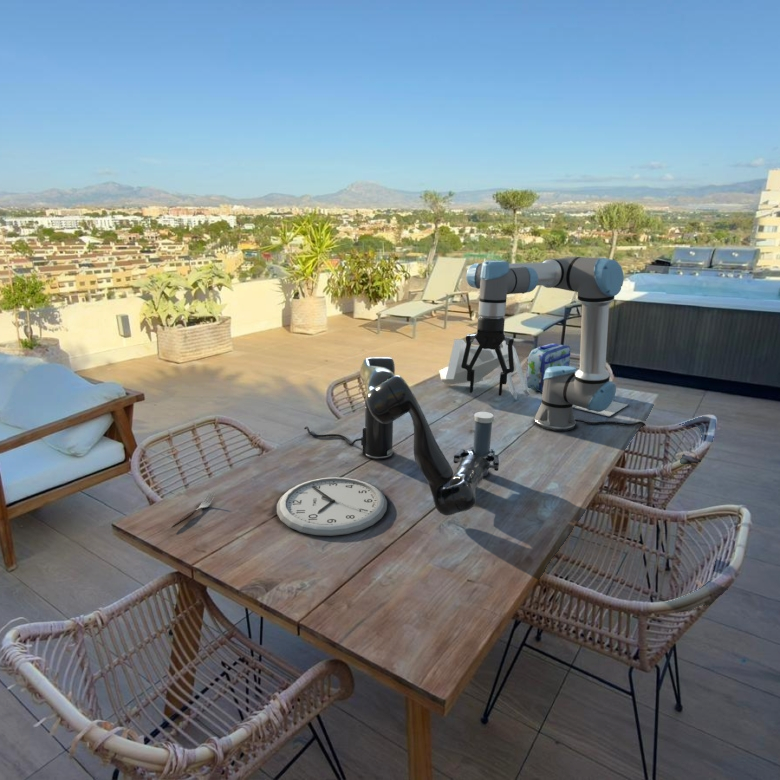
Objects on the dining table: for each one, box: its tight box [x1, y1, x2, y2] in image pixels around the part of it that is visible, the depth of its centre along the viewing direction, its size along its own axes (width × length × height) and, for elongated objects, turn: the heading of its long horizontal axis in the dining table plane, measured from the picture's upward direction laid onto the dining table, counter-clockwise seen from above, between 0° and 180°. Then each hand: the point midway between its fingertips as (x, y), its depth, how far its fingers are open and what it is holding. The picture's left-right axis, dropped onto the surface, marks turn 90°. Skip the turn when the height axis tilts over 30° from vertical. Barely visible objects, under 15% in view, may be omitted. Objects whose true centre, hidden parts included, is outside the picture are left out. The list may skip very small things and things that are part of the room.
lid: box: [473, 411, 495, 423], centre depth 158 cm, size 6×6×2 cm
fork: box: [171, 493, 217, 529], centre depth 137 cm, size 3×16×2 cm, turn 160°
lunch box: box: [525, 343, 571, 393], centre depth 249 cm, size 26×11×21 cm, turn 134°
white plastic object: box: [438, 333, 531, 400], centre depth 245 cm, size 37×45×31 cm
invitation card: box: [573, 400, 629, 418], centre depth 226 cm, size 21×1×15 cm
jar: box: [472, 420, 493, 477], centre depth 160 cm, size 5×5×19 cm
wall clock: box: [276, 476, 388, 537], centre depth 142 cm, size 30×2×30 cm
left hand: (482, 450), depth 164 cm, fingers closed on jar, 5 cm apart
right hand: (485, 392), depth 155 cm, fingers open, 8 cm apart
